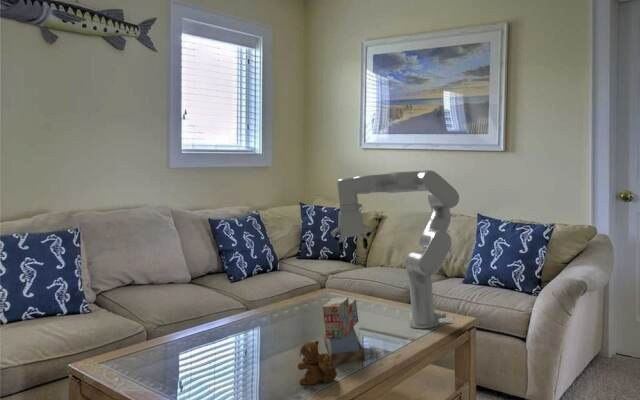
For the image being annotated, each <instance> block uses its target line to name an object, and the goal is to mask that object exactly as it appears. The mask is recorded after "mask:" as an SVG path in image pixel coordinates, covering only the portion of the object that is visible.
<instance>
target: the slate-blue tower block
mask: <svg viewBox="0 0 640 400" xmlns="http://www.w3.org/2000/svg"><path fill="white" fill-rule="evenodd" d="M358 341H359V337H358V336H357V333H356V331H355V327H354V326H353V327H352V328H351V329H350V331H349V332H348V333H347V334H346V335H345V336H344V337H343V338H342V339H329V343H330V348H331V353H332V354H336V353H344V352H352V351H359V344H358Z"/></svg>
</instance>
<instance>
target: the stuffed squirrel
mask: <svg viewBox="0 0 640 400" xmlns="http://www.w3.org/2000/svg"><path fill="white" fill-rule="evenodd" d="M319 343H320V341H319V340H315V341H308V342H306V343H304V344H303V345H301V347H300V352H299V357H300V358H301V357H302V356H303V358H302V362H299V363H298V364H297V369H298V370H299V371H302V370H306V371H305V374H304V377H302V378H300V380H299V384H300V385H306V386H307V385H309V386H311V385H316V384H320V383H324V384H326V382H329V383H330V382H331V381H334V380H335V379H336V377H337V376H338V374H339V372H337V369H336V365H334V363H333V361H332V360H331V358H330V357H329V355H328V353H327V352H326V353H319V352H320V351H319Z"/></svg>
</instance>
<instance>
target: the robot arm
mask: <svg viewBox="0 0 640 400" xmlns="http://www.w3.org/2000/svg"><path fill="white" fill-rule="evenodd" d="M336 184H337V194H338V201H339V210H340V211H339V212H338V214H337V215H338V216H337V220H338V221H337V222H338V223H337V227H336V228H335V229H333V230H332V231H330V235H331V236H332V237H333V239H334V240H335V241H336V242H338V250H339V251H340V252H341V253H344V252H345V248H344V242H343V240H344V238H349V237H357V236H362V237H361V238H362V248H363V249H365V250H367V249H368V247H369V244H368V242H369V241H368V239H369V237H370V236H371V234H372V231H373V227H372V226H370V225H367V224H365V223H364V219H363V214H362V211H361V210H360V209H361V208H362V207H363V205H362V204H361V203H359V200H358V199H359V198H358V195H369V194H371V193H373V194H374V193H387V194H388V193H389V194H398V193H409V192H410V193H412V192H425V191H426V192H428V194H427V195H428V196H427V200H428V203H429V205H430V208H431V215H430V217H429V220H428V222H427V223H426V226H425V227H424V229H423V231H422V233H421V235H420V236H419V241H418V243H419V246H420V247H421V248H422V250H424V251H422V250H413V251H411V252H409V253H408V254H407V255H406V256H405V261H404V265H405V270H406V274H407V278H408V287H409V295H410V304H411V305H410V306H411V316H412V320H410V321H409V327H410V328H412V329H422V330H423V329H432V328H435V327H438V326H439V325H440V319H446V318H447V313H445V312H443V313H440V312H438V313H437V312H435V311H436V310H435V305H434V303H435V302H434V292H433V284H432V283H433V282H432V278H431V277H433V276H435V275H436V274H438V272H439V271H440V269H441V268H442V266H443V264H444V262H445V261H446V258H447V256H448V255H449V252H450V251H451V248H452V242H453V241H452V237H451V235H450V234H449V233H448V232H447V230H448V229H449V226H450V224H451V218H452V217H451V216H452V214H451V209H453V208H455V207H456V206H457V205H458V203H459V201H460V195H459V192H458V191H457V190H456V189H455V188H454V186H453V185H451V184H450V183H449V182H448V181H447V180H445V178H443V177H442V176H441V174H439V173H438V172H436V171H433V170H429V169H428V170H415V171H414V170H413V171H398V172H397V171H396V172H387V173H381V174H370V175H369V174H367V175H366V174H365V175H357V176H354V177H345V178H339V179H338V180H337V183H336ZM366 229H367V232H366V231H365V230H366ZM365 232H366V233H365ZM337 233H338V235H339V237H338V236H337V235H336V234H337Z"/></svg>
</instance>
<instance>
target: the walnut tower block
mask: <svg viewBox="0 0 640 400" xmlns="http://www.w3.org/2000/svg"><path fill="white" fill-rule="evenodd" d="M323 340H324V346H325V350H326V353H327V354H328V355H329V357H330V358H331V360H332V361H333V363H334V366H336V365H343V364H349V363H357V362H358V363H359V362H365V361H366V358H365V351H364V348H363V346H362V345H361V343H360V341H359V340H358V344H359V351H352V352H344V353H336V354H332V353H331V348H330V343H329V339H326V334H323Z"/></svg>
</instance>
